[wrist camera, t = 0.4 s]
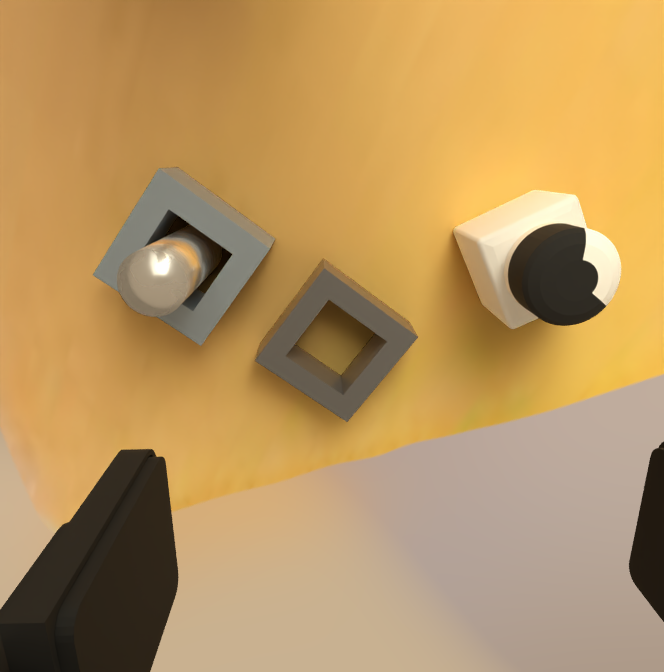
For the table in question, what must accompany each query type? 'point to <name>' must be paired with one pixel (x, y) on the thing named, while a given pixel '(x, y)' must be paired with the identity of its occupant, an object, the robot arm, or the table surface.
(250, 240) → the socket block
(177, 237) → the steel rod
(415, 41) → the table surface
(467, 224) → the medicine bottle
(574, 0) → the table surface
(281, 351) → the grey square ring
